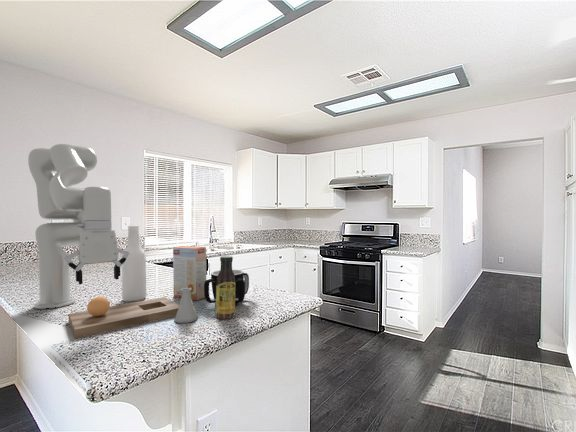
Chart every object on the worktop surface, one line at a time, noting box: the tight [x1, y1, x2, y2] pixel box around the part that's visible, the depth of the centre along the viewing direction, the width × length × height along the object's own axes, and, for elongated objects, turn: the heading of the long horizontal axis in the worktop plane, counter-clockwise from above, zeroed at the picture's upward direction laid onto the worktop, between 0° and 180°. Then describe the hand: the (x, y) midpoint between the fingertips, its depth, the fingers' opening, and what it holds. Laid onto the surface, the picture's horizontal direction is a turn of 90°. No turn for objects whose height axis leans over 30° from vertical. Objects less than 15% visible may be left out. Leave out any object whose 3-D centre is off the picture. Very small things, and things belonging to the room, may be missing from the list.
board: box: [68, 296, 180, 339], centre depth 101 cm, size 18×30×2 cm, turn 130°
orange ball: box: [86, 296, 111, 316], centre depth 95 cm, size 6×6×6 cm
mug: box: [204, 269, 250, 306], centre depth 116 cm, size 16×16×12 cm
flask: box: [173, 288, 199, 324], centre depth 98 cm, size 7×7×10 cm
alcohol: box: [121, 225, 147, 303], centre depth 124 cm, size 9×9×30 cm
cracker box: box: [172, 245, 207, 301], centre depth 126 cm, size 14×6×21 cm, turn 58°
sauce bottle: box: [215, 255, 236, 320], centre depth 101 cm, size 6×6×20 cm
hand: (98, 281), depth 95 cm, fingers open, 9 cm apart
